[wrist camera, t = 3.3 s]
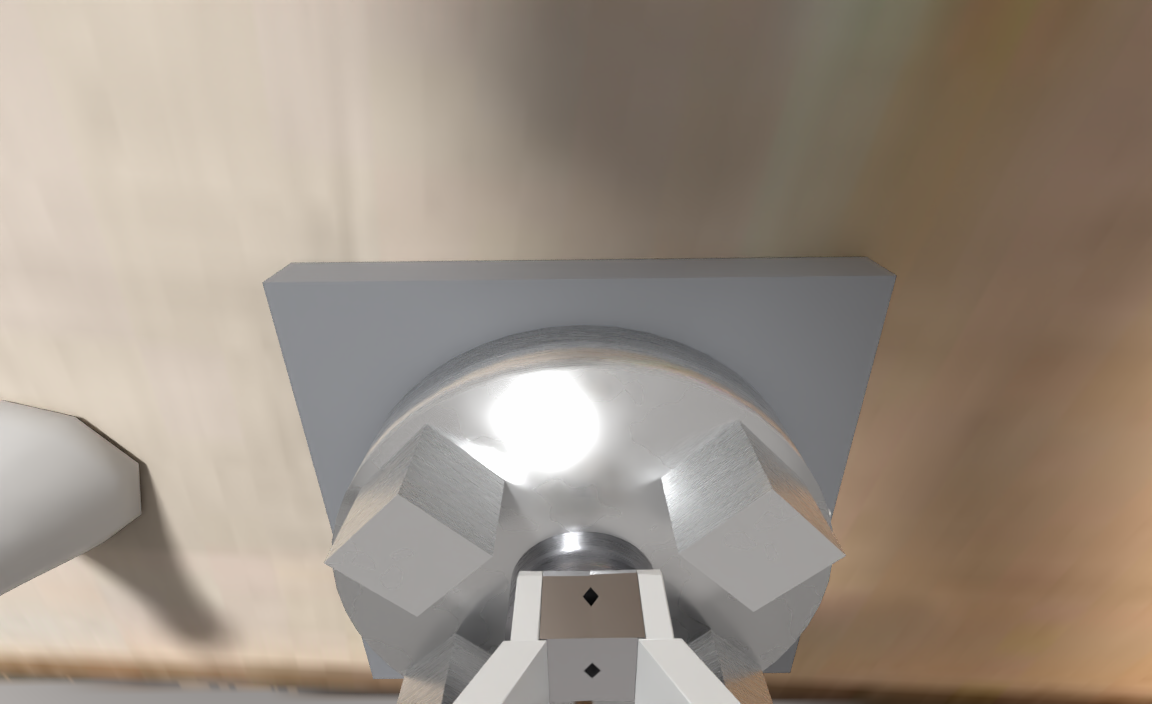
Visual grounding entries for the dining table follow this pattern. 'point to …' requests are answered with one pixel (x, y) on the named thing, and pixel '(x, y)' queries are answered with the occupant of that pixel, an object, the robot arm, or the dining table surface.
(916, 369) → the dining table surface
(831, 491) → the flat gray base plate
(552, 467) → the domed disc mount
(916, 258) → the dining table surface
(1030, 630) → the dining table surface
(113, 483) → the flask
